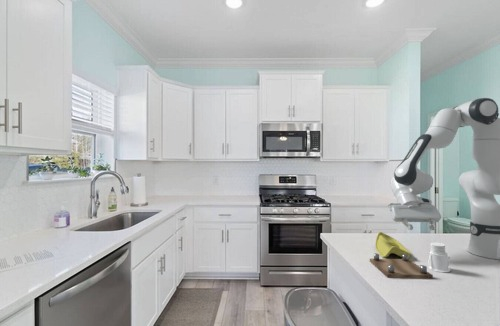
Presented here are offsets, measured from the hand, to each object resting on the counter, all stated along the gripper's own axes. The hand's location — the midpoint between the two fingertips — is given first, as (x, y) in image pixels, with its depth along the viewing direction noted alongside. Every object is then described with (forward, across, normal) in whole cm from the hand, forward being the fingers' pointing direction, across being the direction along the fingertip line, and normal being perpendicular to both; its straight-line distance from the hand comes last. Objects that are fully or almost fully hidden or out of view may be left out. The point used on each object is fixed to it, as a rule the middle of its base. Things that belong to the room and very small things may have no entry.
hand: (422, 229), depth 111 cm
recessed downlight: (+17, 0, +2) cm, 17 cm away
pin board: (+17, -16, +2) cm, 24 cm away
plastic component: (+3, -9, +16) cm, 19 cm away
